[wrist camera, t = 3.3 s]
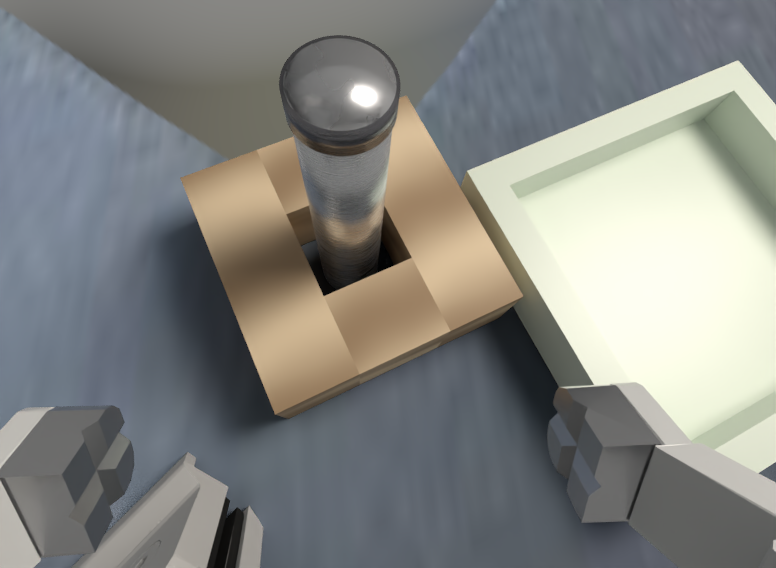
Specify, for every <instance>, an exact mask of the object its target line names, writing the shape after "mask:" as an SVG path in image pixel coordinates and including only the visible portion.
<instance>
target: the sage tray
mask: <svg viewBox="0 0 776 568" xmlns="http://www.w3.org/2000/svg"><path fill="white" fill-rule="evenodd" d="M460 188H461V190H462V192H463V193H464V195H465V197H466V198H467V200H468V202H469V204H470V205H471V207H472V209H473V210H474V212H475V214H476V216H477V217H478V219H479V221H480V222H481V224H482V226H483V228H484V229H485V231H486V233H487V234H488V236H489V238H490V240H491V241H492V243H493V245H494V246H495V248H496V250H497V252H498V253H499V255H500V257H501V258H502V260H503V262H504V264H505V265H506V267H507V269H508V270H509V272H510V274H511V276H512V277H513V279H514V281H515V282H516V284H517V286H518V288H519V289H520V291H521V293H522V294H523V297H522V298H521V299H520V300H519V301H518V302H517V303H515V304H514V305H513V307H514V309H515V311H516V313H517V314H518V316H519V318H520V320H521V321H522V323H523V325H524V327H525V328H526V330H527V332H528V334H529V335H530V337H531V339H532V340H533V342H534V344H535V346H536V347H537V349H538V351H539V353H540V354H541V356H542V358H543V360H544V361H545V363H546V365H547V367H548V368H549V370H550V372H551V374H552V375H553V377H554V379H555V381H556V382H557V384H558V386H559V387H567V386H588V385H610V384H615V383H630V382H637V383H639V384H641V385H642V386H644V387H645V389H646V390H647V391H648V392H649V393H650V394H651V396H652V397H653V398H654V399H655V400H656V401H657V402H658V404H659V405H660V406H661V407H662V408H663V409H664V411H665V412H666V413H667V414H668V415H669V416H670V417H671V419H672V420H673V421H674V422H675V423H676V424H677V426H678V427H679V428H680V429H681V430H682V431H683V433H684V434H685V435H686V436H687V437H688V438H689V439H690V441H691V442H692V443H693V444H697V443H702V444H704V445H706V446H707V447H709V448H711V449H713V450H715V451H717V452H719V453H721V454H723V455H724V456H726V457H728V458H730V459H732V460H734V461H736V462H738V463H739V464H741V465H743V466H745V467H747V468H749V469H751V470H753V471H755V472H756V473H759V472H760V471H762V470H764V469H765V468H767V467H769V466H770V465H772V464H773V463H775V462H776V105H775V104H774V102H773V101H772V100H771V99H770V98H769V96H768V95H767V94H766V93H765V92H764V90H763V89H762V88H761V87H760V86H759V84H758V83H757V82H756V81H755V80H754V79H753V77H752V76H751V75H750V74H749V73H748V71H747V70H746V69H745V68H744V67H743V65H742V64H741V63H740V62H739V61H736V62H733V63H731V64H728V65H726V66H723V67H721V68H718V69H716V70H714V71H711V72H709V73H706V74H704V75H701V76H699V77H696V78H694V79H691V80H689V81H687V82H684V83H682V84H679V85H677V86H674V87H672V88H669V89H667V90H664V91H662V92H660V93H657V94H655V95H652V96H650V97H647V98H645V99H642V100H640V101H638V102H635V103H633V104H630V105H628V106H625V107H623V108H620V109H618V110H615V111H613V112H611V113H608V114H606V115H603V116H601V117H598V118H596V119H593V120H591V121H588V122H586V123H584V124H581V125H579V126H576V127H574V128H571V129H569V130H566V131H564V132H561V133H559V134H557V135H554V136H552V137H549V138H547V139H544V140H542V141H539V142H537V143H535V144H532V145H530V146H527V147H525V148H522V149H520V150H517V151H515V152H512V153H510V154H508V155H505V156H503V157H500V158H498V159H495V160H493V161H490V162H488V163H485V164H483V165H481V166H478V167H476V168H473V169H471V170H468V171H467V172H466V175H465V177H464V180H463V182H462V185H461V187H460Z"/></svg>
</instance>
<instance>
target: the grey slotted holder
mask: <svg viewBox="0 0 776 568" xmlns="http://www.w3.org/2000/svg"><path fill="white" fill-rule="evenodd" d="M195 461H196V458H195V457H194V456H193V455H191V454H190V453H188V452H187V453H186V454H185V455H184V456H183V457H182V458H181V459H180V460H179V461H178V462H177V463H176V464H175V465H174V466H173V467H172V468H171V469H170V470H169V471H168V472H167V473H166V474H165V475H164V476H163V477H162V478H161V479H160V480H159V481H158V482H157V483H156V484H155V485H154V486H153V487H152V488H151V489H150V490H149V491H148V492H147V493H146V494H145V495H144V496H143V497H142V498H141V499H140V500H139V501H138V502H137V503H136V504H135V505H134V506H133V507H132V508H131V509H130V510H129V511H128V512H127V513H126V514H125V515H124V516H123V517H122V518H121V519H120V520H119V521H118V522H117V523H116V524H115V525H114V526H113V527H112V528H111V529H110V530H109V531H108V532H107V533H106V534H105V535H104V536H103V538H102V540H101V542H100V544H99V546H98V548H97V550H96V552H95V553H86V554H85V555H84V556H83V557H82V558H81V559H80V560H79V561H78V562H76V563H75V564H74V565H73V566H72V567H71V568H260V559H261V547H262V536H263V527H262V525H261V523H260V521H259V520H258V518H257V516H256V515H255V514H254V512H253V511H252V509H251V508H250V506H248V507H247V508H246V509H245V510H244V511H243V512H242V511H241V510H240V509H239V508H236V509H235V510H234V511H233V513H232V514H231V515H230V516H229V517H228V518H227V519H226V515H227V511H228V507H229V503H230V500H229V499H228V498H226V493H227V490H228V486H226V485H224V484H222V483H221V482H219V481H217V480H216V479H214V478H212V477H211V476H209V475H207V474H205V473H204V472H202V471H200V470H199V469H197V468H195V467H194V465H195ZM225 519H226V520H225Z"/></svg>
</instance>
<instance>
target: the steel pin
mask: <svg viewBox="0 0 776 568" xmlns="http://www.w3.org/2000/svg"><path fill="white" fill-rule="evenodd" d="M279 87H280V93H281V98H282V102H283V106H284V111H285V115H286V120H287V123H288V125H289V127H290V129H291V131H292V132H293V135H294V140H295V145H296V149H297V154H298V159H299V163H300V168H301V172H302V177H303V182H304V186H305V191H306V195H307V200H308V205H309V209H310V214H311V218H312V223H313V228H314V232H315V237H316V242H317V246H318V251H319V255H320V260H321V265H322V269H323V274H324V276H325V278H326V280H327V281H328V283H329V284H330V285H331V286H333V287H334V288H336V289H338V290H339V289H342V288H344V287H346V286H348V285H351V284H353V283H355V282H358V281H360V280H362V279H364V278H367V277H369V276H371V275H374V274H376V273H377V270H378V260H379V251H380V241H381V232H382V222H383V213H384V203H385V194H386V184H387V174H388V165H389V155H390V146H391V136H392V129H393V127H394V125H395V122H396V119H397V112H398V104H399V94H400V78H399V74H398V71H397V69H396V67H395V65H394V63H393V61H392V60H391V59H390V57H388V55H387V54H386V53H385V52H384V51H382V50H381V49H380V48H378V47H377V46H375V45H374V44H372V43H370V42H368V41H365V40H363V39H360V38H356V37H351V36H341V35H337V36H327V37H322V38H318V39H315V40H312V41H310V42H308V43H306V44H304V45H303V46H301V47H300V48H298V49H297V50H296V51H295V52H293V53H292V55H291V56H290V57H289V58H288V59H287V61H286V62H285V64H284V66H283V68H282V71H281V74H280V81H279Z"/></svg>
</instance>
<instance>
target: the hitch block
mask: <svg viewBox="0 0 776 568" xmlns="http://www.w3.org/2000/svg"><path fill="white" fill-rule="evenodd" d="M181 181H182V183H183V186H184V188H185V191H186V193H187V196H188V198H189V201H190V203H191V206H192V208H193V211H194V213H195V216H196V218H197V221H198V223H199V226H200V228H201V231H202V233H203V236H204V238H205V241H206V243H207V246H208V248H209V251H210V253H211V256H212V258H213V261H214V263H215V266H216V268H217V271H218V273H219V276H220V278H221V281H222V283H223V286H224V288H225V291H226V293H227V296H228V298H229V301H230V303H231V306H232V308H233V311H234V313H235V316H236V318H237V321H238V323H239V326H240V328H241V331H242V333H243V336H244V338H245V341H246V343H247V346H248V348H249V351H250V353H251V356H252V358H253V361H254V363H255V366H256V368H257V371H258V373H259V376H260V378H261V381H262V383H263V386H264V388H265V391H266V393H267V396H268V398H269V401H270V403H271V406H272V408H273V411H274V413H275V415H278V416H282V417H285V418H288V419H289V418H291V417H294V416H296V415H298V414H300V413H302V412H304V411H306V410H308V409H310V408H312V407H314V406H316V405H319V404H321V403H323V402H325V401H327V400H329V399H331V398H333V397H335V396H337V395H339V394H341V393H344V392H346V391H348V390H350V389H352V388H354V387H356V386H358V385H360V384H362V383H364V382H366V381H369V380H371V379H373V378H375V377H377V376H379V375H381V374H383V373H385V372H387V371H389V370H391V369H394V368H396V367H398V366H400V365H402V364H404V363H406V362H408V361H410V360H412V359H414V358H416V357H419V356H421V355H423V354H425V353H427V352H429V351H431V350H433V349H435V348H437V347H439V346H441V345H444V344H446V343H448V342H450V341H452V340H454V339H456V338H458V337H460V336H462V335H464V334H466V333H469V332H471V331H473V330H475V329H477V328H479V327H481V326H483V325H485V324H487V323H489V322H491V321H494V320H496V319H498V318H500V317H501V316H502V315H503V314H504V313H505V312H506V311H508V310H509V309H510V308H511V307H512V306H513V305H514V304H515V303H517V302H518V301H519V300H520V299H521V298H522V297H523V294H522V293H521V291H520V289H519V288H518V286H517V284H516V282H515V281H514V279H513V277H512V276H511V274H510V272H509V270H508V269H507V267H506V265H505V264H504V262H503V260H502V258H501V257H500V255H499V253H498V252H497V250H496V248H495V246H494V245H493V243H492V241H491V240H490V238H489V236H488V234H487V233H486V231H485V229H484V228H483V226H482V224H481V222H480V221H479V219H478V217H477V216H476V214H475V212H474V210H473V209H472V207H471V205H470V204H469V202H468V200H467V198H466V197H465V195H464V193H463V192H462V190H461V188H460V186H459V185H458V183H457V181H456V180H455V178H454V176H453V174H452V173H451V171H450V169H449V168H448V166H447V164H446V162H445V161H444V159H443V157H442V156H441V154H440V152H439V150H438V149H437V147H436V145H435V144H434V142H433V140H432V139H431V137H430V135H429V133H428V132H427V130H426V128H425V127H424V125H423V123H422V121H421V120H420V118H419V116H418V115H417V113H416V111H415V109H414V108H413V106H412V104H411V103H410V101H409V99H408V98H407V96H404V97H401V98H399V104H398V112H397V119H396V122H395V125H394V127H393V129H392V136H391V146H390V155H389V165H388V174H387V184H386V194H385V203H384V213H383V222H382V232H381V240H382V242H383V244H384V246H385V248H386V250H387V252H388V254H389V256H390V258H391V260H392V262H393V264H394V266H392V267H390V268H387V269H385V270H383V271H381V272H378V273H376V274H374V275H371V276H369V277H367V278H364V279H362V280H360V281H358V282H355V283H353V284H351V285H348V286H346V287H344V288H342V289H339V290H337V291H335V292H332V293H330V294H328V295H325V296H323V293H322V291H321V289H320V287H319V285H318V283H317V280H316V278H315V276H314V274H313V272H312V270H311V267H310V265H309V263H308V261H307V259H306V256H305V254H304V252H303V250H302V248H301V245H304V244H306V243H308V242H311V241H313V240H316V237H315V232H314V228H313V223H312V218H311V214H310V209H309V205H308V200H307V195H306V191H305V186H304V182H303V177H302V172H301V168H300V163H299V159H298V154H297V149H296V145H295V140H294V137H291V138H289V139H286V140H283V141H280V142H278V143H275V144H272V145H269V146H267V147H264V148H261V149H258V150H256V151H253V152H250V153H247V154H245V155H242V156H239V157H236V158H234V159H231V160H228V161H225V162H223V163H220V164H217V165H214V166H212V167H209V168H206V169H203V170H201V171H198V172H195V173H192V174H190V175H187V176H184V177H181Z"/></svg>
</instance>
